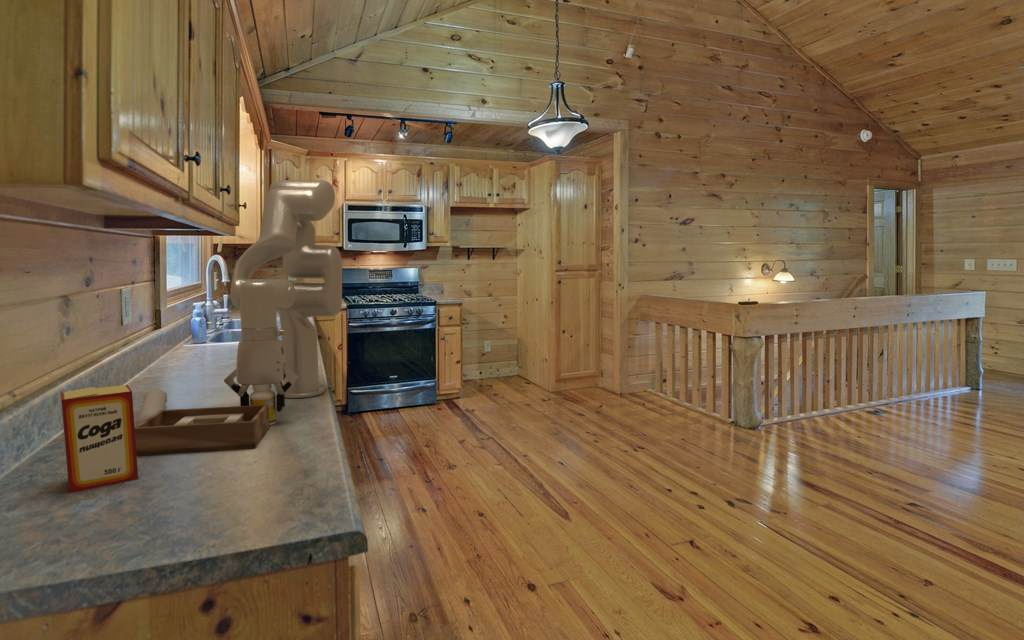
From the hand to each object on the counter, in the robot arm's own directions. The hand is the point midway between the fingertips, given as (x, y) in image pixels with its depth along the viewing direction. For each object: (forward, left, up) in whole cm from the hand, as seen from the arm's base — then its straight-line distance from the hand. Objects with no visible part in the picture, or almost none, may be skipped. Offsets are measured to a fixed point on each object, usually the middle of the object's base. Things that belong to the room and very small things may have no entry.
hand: (263, 410), depth 131 cm
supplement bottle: (0, 0, -3) cm, 3 cm away
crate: (+11, -9, -3) cm, 15 cm away
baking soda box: (+30, -20, -3) cm, 36 cm away
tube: (-10, -27, -4) cm, 29 cm away
